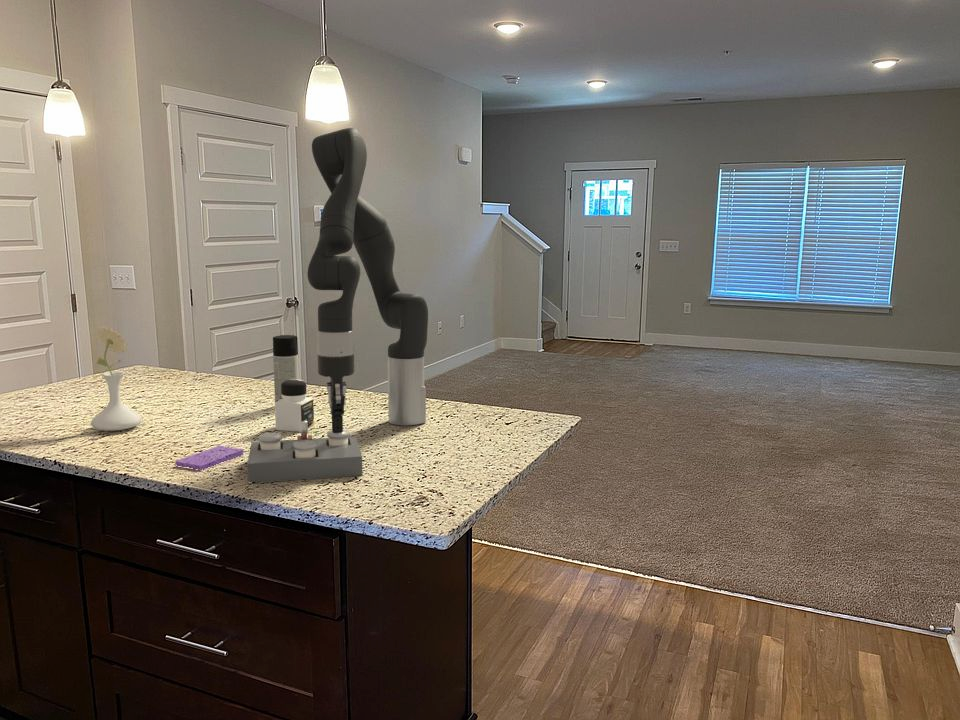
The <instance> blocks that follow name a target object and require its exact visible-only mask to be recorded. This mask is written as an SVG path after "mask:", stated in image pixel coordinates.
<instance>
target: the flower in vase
mask: <svg viewBox="0 0 960 720" xmlns="http://www.w3.org/2000/svg"><path fill="white" fill-rule="evenodd" d="M95 333H96V335H97V339H98V340H99V341H100V342H101V344H102V345H104V348H105V350H104V355H103V358H101V357H98V360H97V362H96V364H98V365H101V366H104V367H107V369H108V371H107V372H103V373H102V374H101V376H102V377H103V379H104V380H105V381H106V384H107V387H108V391H109V402H108V404H107V405H106V407H104V408H103V409H102V410H100V412H98V413H97V415H95V416H94V417H93V418H92V420H91V422H90V426H91V427H92V428H93V429H96V430H100V431H103V432H104V431H107V432H108V431H109V432H113V431H114V432H115V431H122V430H128V429H131V428H134V427H136V426H138V425H140V424H141V422H142V421H143V418H142V416H141V415H140V414H139V413H138V412H136V411H135V410H133V409H132V408H130V407H128V406H127V405H125V404H124V403H123V402H122V400H121V394H120V393H121V392H120V386H121V380H122V379H123V376H124V375H125V372H123V371H112V370H111V368H112V367H113V366H115V365H117V364H119V363H120V362H121V359H119V360H118V361H117V362H114V363H113V364H112V365H110V366H109V364H108V362H107V360H106V359H107V358H106V357H107V352H108V350H109V351H113V352H114V353H118V354H121V353H124V352H126V351H127V349H126V346H127V344H126V343H125V339H123V338H122V337H123V336H122V334H120V333H118V332H117V331H115V330H113V328H111V327H109V328H107V327H106V326H101V328H98V329H97V330H96V331H95Z"/></svg>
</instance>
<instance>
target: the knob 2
mask: <svg viewBox="0 0 960 720" xmlns="http://www.w3.org/2000/svg"><path fill="white" fill-rule="evenodd" d="M326 435H327V436H326V438H329V446H342V445H348V437H350V431H349V430H348V429H345V428H343V432H342V433H333V432H332V429H331V430H328V431H327V432H326Z"/></svg>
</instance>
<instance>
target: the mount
mask: <svg viewBox="0 0 960 720" xmlns="http://www.w3.org/2000/svg"><path fill="white" fill-rule="evenodd" d="M312 440H314V441H316V442H317V447H316V448H315V451H316V457H310V458H295V449H294V448H293V443H294V442H296V441H297V439H287V440H286V439H283V440H282V439H281V440H280V448H281V449H275V450H261V446H260V441H252V442H251V443H250V449H249V454H248V459H247V464H246V465H247V483H248V482H263V483H273V482H272V481H277V482H288V481H287V480H291V481H300V480H301V481H302V480H303V479H305V480H316V478H319V479H333V478H334V479H335V478H344V477H345V478H347V477H360V476H363V455H362V451H361V448H360V446H359V442H358V438H357V436H356V435H354V436H353V435H352V436H350V435H349V436H348V445H342V446H329V437H319V438H318V437H317V438H312ZM270 481H271V482H270Z"/></svg>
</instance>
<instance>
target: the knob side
mask: <svg viewBox="0 0 960 720" xmlns="http://www.w3.org/2000/svg"><path fill="white" fill-rule="evenodd" d="M316 447H317V442H316V441H314V440H300V441H296V442H294V443H293V448H294V449H295V458H310V457H316V451H315V448H316Z"/></svg>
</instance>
